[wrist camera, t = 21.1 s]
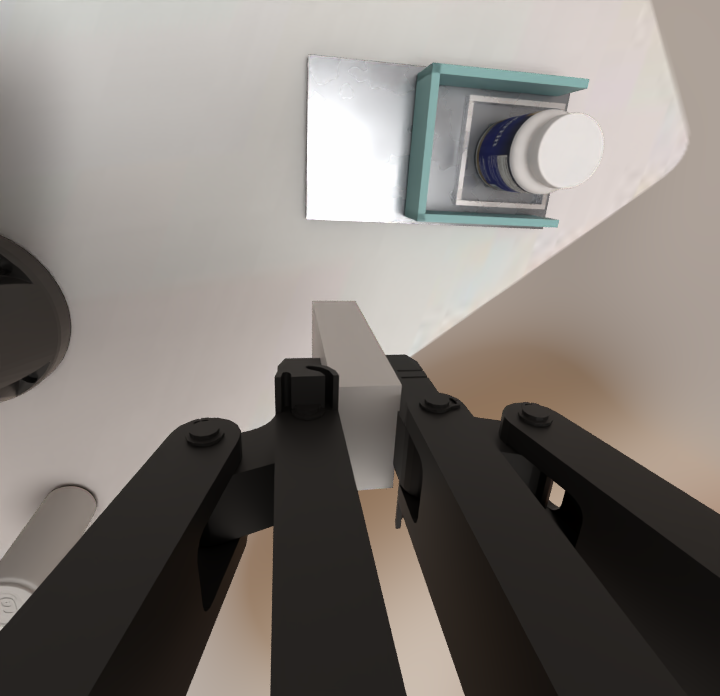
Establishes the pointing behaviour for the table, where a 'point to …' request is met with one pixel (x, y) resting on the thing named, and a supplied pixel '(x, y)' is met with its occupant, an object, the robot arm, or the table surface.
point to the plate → (402, 143)
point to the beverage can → (42, 545)
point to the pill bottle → (540, 152)
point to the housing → (426, 123)
